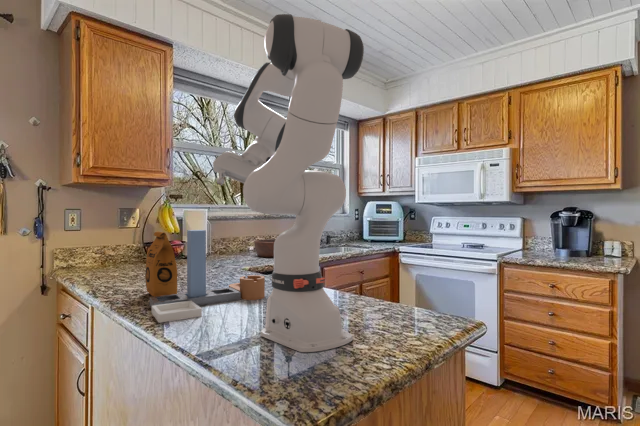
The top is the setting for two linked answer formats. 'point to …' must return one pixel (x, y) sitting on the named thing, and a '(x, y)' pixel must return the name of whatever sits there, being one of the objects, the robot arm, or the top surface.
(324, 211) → the robot arm
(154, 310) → the tray
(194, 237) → the blue-grey rectangular block
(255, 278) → the bracket
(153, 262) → the coffee package
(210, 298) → the rail
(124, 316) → the top surface
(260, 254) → the wooden bowl
